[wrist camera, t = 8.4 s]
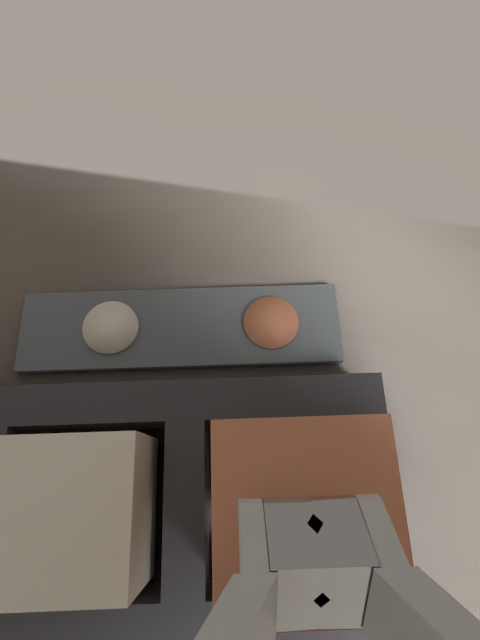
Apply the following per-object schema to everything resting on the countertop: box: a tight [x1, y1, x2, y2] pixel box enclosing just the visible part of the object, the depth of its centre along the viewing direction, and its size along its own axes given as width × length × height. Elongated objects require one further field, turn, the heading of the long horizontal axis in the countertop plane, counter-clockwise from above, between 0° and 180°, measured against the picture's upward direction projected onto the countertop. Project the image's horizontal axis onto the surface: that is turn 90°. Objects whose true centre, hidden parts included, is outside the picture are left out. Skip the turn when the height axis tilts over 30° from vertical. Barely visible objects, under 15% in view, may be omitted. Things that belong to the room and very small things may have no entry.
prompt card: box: [13, 284, 343, 373], centre depth 19 cm, size 14×4×1 cm, turn 92°
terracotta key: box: [211, 414, 414, 633], centre depth 12 cm, size 5×5×4 cm
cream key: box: [0, 431, 158, 614], centre depth 14 cm, size 5×5×4 cm
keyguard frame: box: [0, 373, 387, 640], centre depth 15 cm, size 22×9×2 cm, turn 92°
